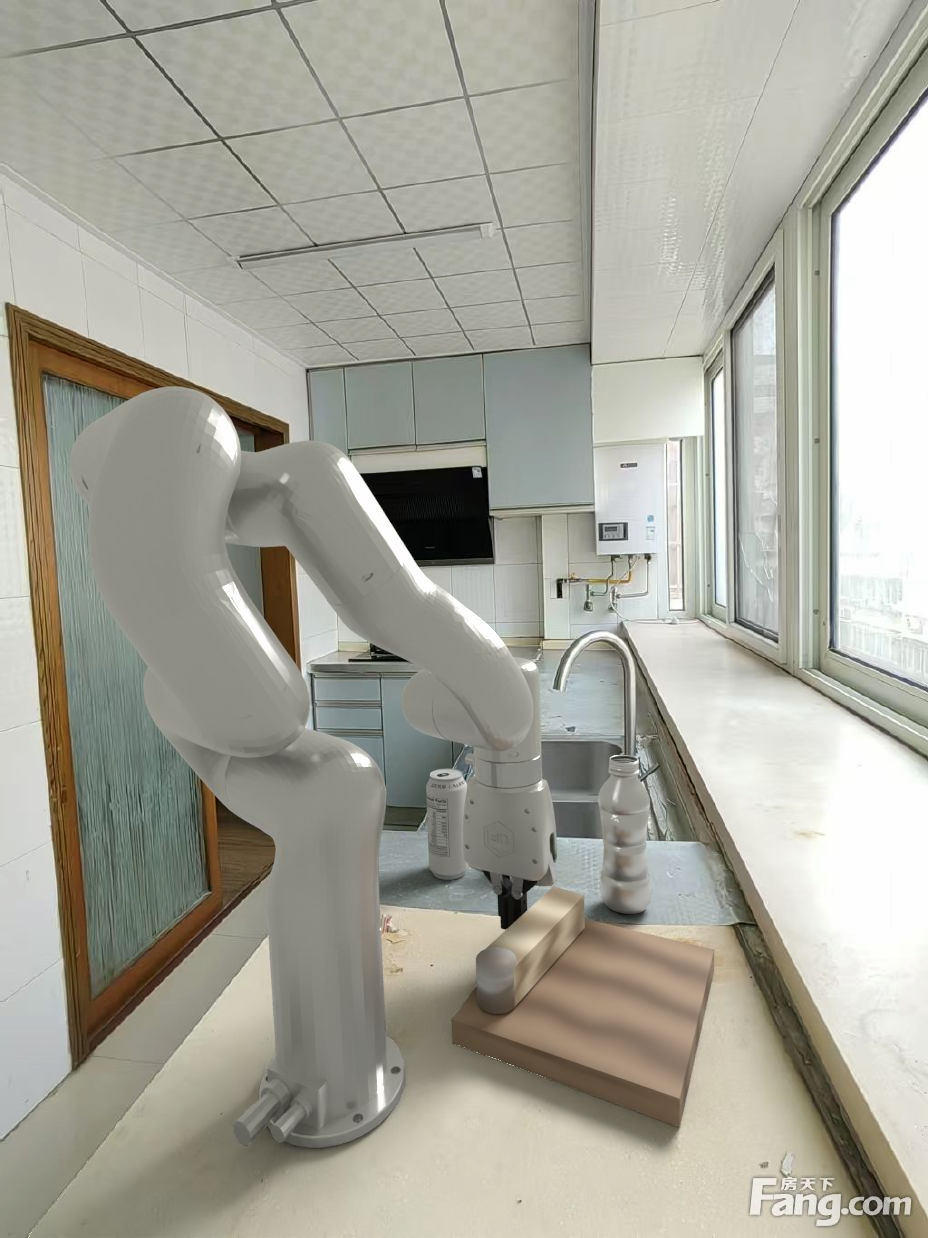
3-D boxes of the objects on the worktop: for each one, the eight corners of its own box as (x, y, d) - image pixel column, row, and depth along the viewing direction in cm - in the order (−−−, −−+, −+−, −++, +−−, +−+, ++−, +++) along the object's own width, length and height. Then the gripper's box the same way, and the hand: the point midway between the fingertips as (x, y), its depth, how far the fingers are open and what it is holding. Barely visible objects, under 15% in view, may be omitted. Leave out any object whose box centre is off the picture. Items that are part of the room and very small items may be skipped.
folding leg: (503, 1019, 61) (502, 977, 61) (469, 1003, 63) (467, 963, 63) (584, 927, 76) (584, 893, 75) (554, 918, 78) (553, 884, 78)
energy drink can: (476, 874, 95) (473, 775, 94) (440, 885, 92) (436, 783, 91) (458, 858, 100) (454, 764, 99) (422, 868, 97) (418, 771, 96)
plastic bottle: (654, 923, 81) (653, 767, 79) (599, 918, 82) (597, 766, 81) (650, 896, 87) (649, 752, 86) (599, 893, 89) (597, 751, 87)
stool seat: (679, 1127, 52) (679, 1098, 52) (452, 1043, 62) (451, 1019, 62) (714, 971, 71) (714, 949, 71) (536, 926, 81) (536, 907, 81)
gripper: (433, 770, 73) (440, 925, 74) (558, 789, 65) (562, 960, 67) (466, 751, 79) (471, 894, 81) (583, 767, 72) (586, 924, 73)
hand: (513, 924), depth 74 cm, fingers closed
